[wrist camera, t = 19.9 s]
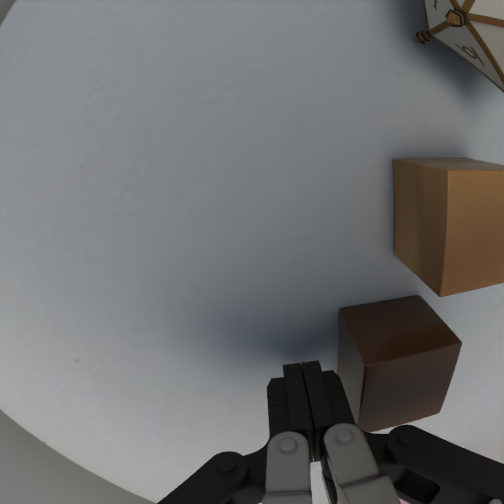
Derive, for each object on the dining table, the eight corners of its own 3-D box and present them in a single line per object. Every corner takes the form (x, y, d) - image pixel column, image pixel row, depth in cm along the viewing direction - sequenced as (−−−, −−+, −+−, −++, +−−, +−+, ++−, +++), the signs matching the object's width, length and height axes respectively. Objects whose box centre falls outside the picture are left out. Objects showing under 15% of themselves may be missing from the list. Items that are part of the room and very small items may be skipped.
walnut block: (338, 307, 13) (365, 365, 10) (419, 294, 13) (463, 341, 9) (337, 375, 15) (355, 436, 11) (409, 361, 14) (440, 413, 11)
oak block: (392, 158, 11) (447, 169, 7) (468, 158, 11) (530, 171, 7) (393, 254, 13) (439, 298, 9) (465, 245, 12) (518, 279, 9)
